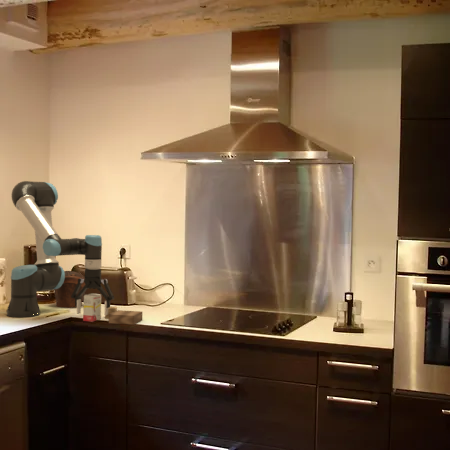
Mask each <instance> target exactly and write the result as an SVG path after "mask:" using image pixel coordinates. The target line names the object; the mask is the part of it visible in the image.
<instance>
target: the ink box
mask: <svg viewBox="0 0 450 450" xmlns="http://www.w3.org/2000/svg"><path fill="white" fill-rule="evenodd" d="M101 313H102V294H101V293H100V294H99V293H88V294H84V296H83V310H82V321H83V322H90V323H91V322H92V323H93V322H95V321H99V320H101V319H102V317H101V316H102V315H101Z"/></svg>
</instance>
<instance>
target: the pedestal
mask: <svg viewBox="0 0 450 450" xmlns="http://www.w3.org/2000/svg"><path fill="white" fill-rule="evenodd" d="M143 313H144V312H143V311H137V310H120V309H117V311H115V312H113V313H111V314H109V319H108V324H117V325H131V326H132V325H133V326H134V325H136V324H137V323H139V322H141V321H143Z"/></svg>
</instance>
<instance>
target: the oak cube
mask: <svg viewBox="0 0 450 450" xmlns="http://www.w3.org/2000/svg"><path fill="white" fill-rule="evenodd" d="M115 311H118V307H117V306H110V308H108V315H105V314H104V319H106V320H109V314H111V313H113V312H115Z"/></svg>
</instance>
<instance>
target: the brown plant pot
mask: <svg viewBox="0 0 450 450" xmlns="http://www.w3.org/2000/svg"><path fill="white" fill-rule="evenodd" d="M64 272H65V279H64V282H63V284H62V286H61V287H60V288H58V289H54V290H53V292H54V297H55V302H56V304H55V305H56V307H58V308H65V309H66V308H67V309H68V308H70V309H73V308H77V306H75V299H74V298H71V296H72V294H73V292H74V290H75V287H76V285H77V283H78V279H80V278H82V279H85V275H83V274H82V273H80V272H78V271H73V270H64ZM85 285H86V284H85V283H84V282H83V283H82V285H81V287H80V289H79V291H78V293H79V292H80V291H81V290H82V289H83V287H84V286H85ZM78 293H77V295H78ZM85 294H86V291H85V292H84V293H83V294H82V296H81V297H80V298H79V299H81V305H83V304H82V303H83V301H84V295H85ZM77 295H76V296H77Z"/></svg>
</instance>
